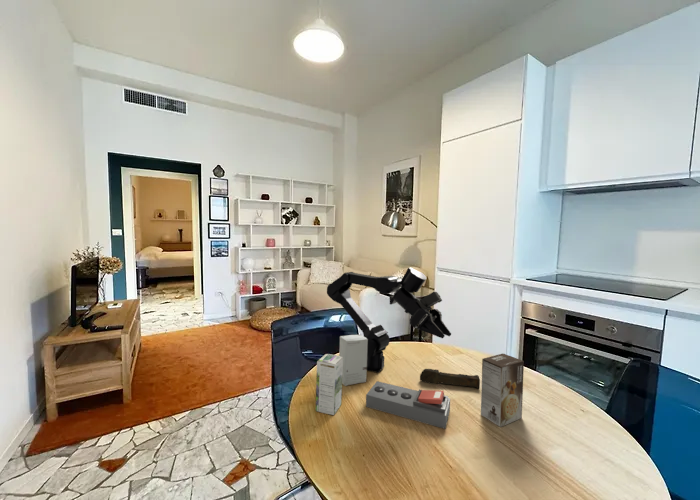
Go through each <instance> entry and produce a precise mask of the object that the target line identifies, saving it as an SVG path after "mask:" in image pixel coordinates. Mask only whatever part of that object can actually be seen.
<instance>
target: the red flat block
mask: <svg viewBox="0 0 700 500" xmlns="http://www.w3.org/2000/svg"><path fill="white" fill-rule="evenodd" d="M421 390H422V391H421V393H420V396H419V398H418V400H419V402H422V403H429V404H442V401H443V397H444V395H445V392H444V390H436V389H435V390H433V389H431V390H429V389H421Z"/></svg>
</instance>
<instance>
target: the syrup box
mask: <svg viewBox="0 0 700 500" xmlns="http://www.w3.org/2000/svg"><path fill="white" fill-rule="evenodd" d="M342 372H343V357H340V356H339V355H336V354H332V353H331V354H330V353H325V354H324V355H323V356H322V357H321V358H319V359H318V360H317V361H316V383H315V385H316V386H315V387H316V388H315V411H316V412H319V413H322V414H327V415H332V416H335V414H336V413H337V412H338V410H339V409H340V407H341V406H342V402H343V401H342V398H343V397H342V395H343V383H342Z"/></svg>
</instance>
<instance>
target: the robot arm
mask: <svg viewBox="0 0 700 500" xmlns="http://www.w3.org/2000/svg"><path fill="white" fill-rule="evenodd" d="M426 281H427V276H426V275H425V274H424V273H423V272H422V271H419V270H417V269H415V268H413V267H408V268H407V270H406V271H405V273H404V275H403V277H402V278H398V277H397V276H394V275H390V276H389V275H388V276H387V275H386V276H374V275H368V274H362V273H357V272H354V271H350V272H349V271H348V272H347V271H346V272H344V273H343V274H341V276H339V277H338V278H337V279H335V280H334V281H333V282H331V283H329V284H328V285H327V286H326V294H327V296H328V297H329V298H330V299H331V300H332V301H333V302H335V303H337V304H339V305H340V306H341V307H342V308H343V309H344V310H345V312H346V313H347V315H349V317H350V318H351V319H352V321H353V322H354V323H355V324H356V326H357V327H358V328H359V329H360V330H361V332H362V336H364V337H365V338H367V339H368V345H367V371H369V372H373V373H377V374H379V373H380V372H381V371H382V370H383V368H385V356H384V351H385V350H386V349H387V347H388V346H389V344H390V335H389V334H388V333H389V332H388V331H386V330H385V328H384V327H383V326H382V325H383V324H382V325H381V324H378V325H375V324H374V323H373V322H372V321H371V320H370V318H369V317H368V316H367V315H366V313H364V311H363V310H362V309H361V307H360V306H359V305H358V304H357V303H356V301H355V300H354V298H352V296H351V291H350V288H351V287H352V285H353V284H354V285H358V286H364V287H368V288H371V289H374V290H375V291H377V292H378V293H381V294H383V295H388V294H392V293H393V295H390V296H389V305H394V304H398V305H399V306H400V307H401V308H402V309H403V310H404V312H405V313H406V314H408V315H410V316H411V317H410V318H409V325H411V326H412V327H413V329H417V330H420V331H422V332H425V333H427V334H431V335H432V336H436V337H438V338H440V339H444V338H445V336H448V337H450V336H451V335H452V332H451V331H450V330H449V329H448V327H447V326H446V325H445V323H444V321H443V320H442V317H443V315H442V312H441V311H440V310H439V309H437V308H432V307H433V306H434V305H436V304H438V303H441V302H443V299H442V297H441V295H440V294H439V292H437V291H433V292H431V293H429V294H428V295H426V296H424V297H423V298H418V297H417V296H416V295H414V294H413V293H418V292H419V291H420V289H421V288H422V287H423V284H424V283H425V282H426Z"/></svg>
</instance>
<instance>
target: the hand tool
mask: <svg viewBox="0 0 700 500" xmlns="http://www.w3.org/2000/svg"><path fill="white" fill-rule="evenodd" d="M419 381H420V382H423V383H426V384H432V385H438V384H444V385H456V386H461V387H469V388H476V389H477V390H479V389H480V388H481V385H480V384H481V380H480V376H479V375H477V374H475V375H471V374H470V375H469V374H464V373H463V374H461V373H459V374H458V373H448V372H442V371H440V370H439V369H434V368H424V369H422V371H421V373H420V375H419Z"/></svg>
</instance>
